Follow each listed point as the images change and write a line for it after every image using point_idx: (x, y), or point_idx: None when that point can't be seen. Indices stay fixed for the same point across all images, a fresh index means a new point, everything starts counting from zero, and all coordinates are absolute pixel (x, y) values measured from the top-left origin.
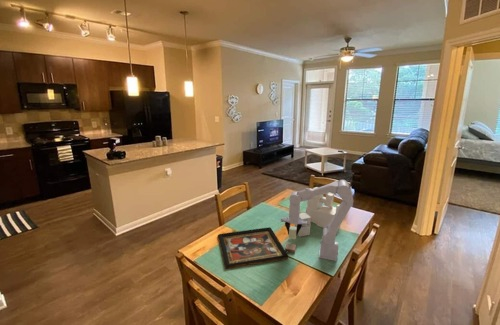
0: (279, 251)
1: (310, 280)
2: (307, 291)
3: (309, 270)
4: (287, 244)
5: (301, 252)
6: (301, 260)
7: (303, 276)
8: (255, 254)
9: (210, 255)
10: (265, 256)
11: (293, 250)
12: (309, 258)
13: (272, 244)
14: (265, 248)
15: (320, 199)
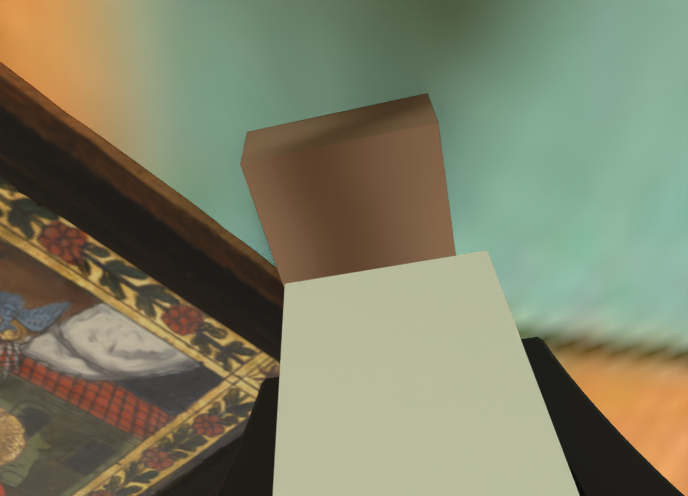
0: (234, 339)
1: (681, 489)
2: None
3: (676, 405)
4: (276, 195)
5: (548, 167)
6: (570, 318)
7: None
8: (19, 482)
9: None
10: (139, 466)
11: None
12: (684, 236)
13: (30, 250)
14: (22, 366)
15: None
